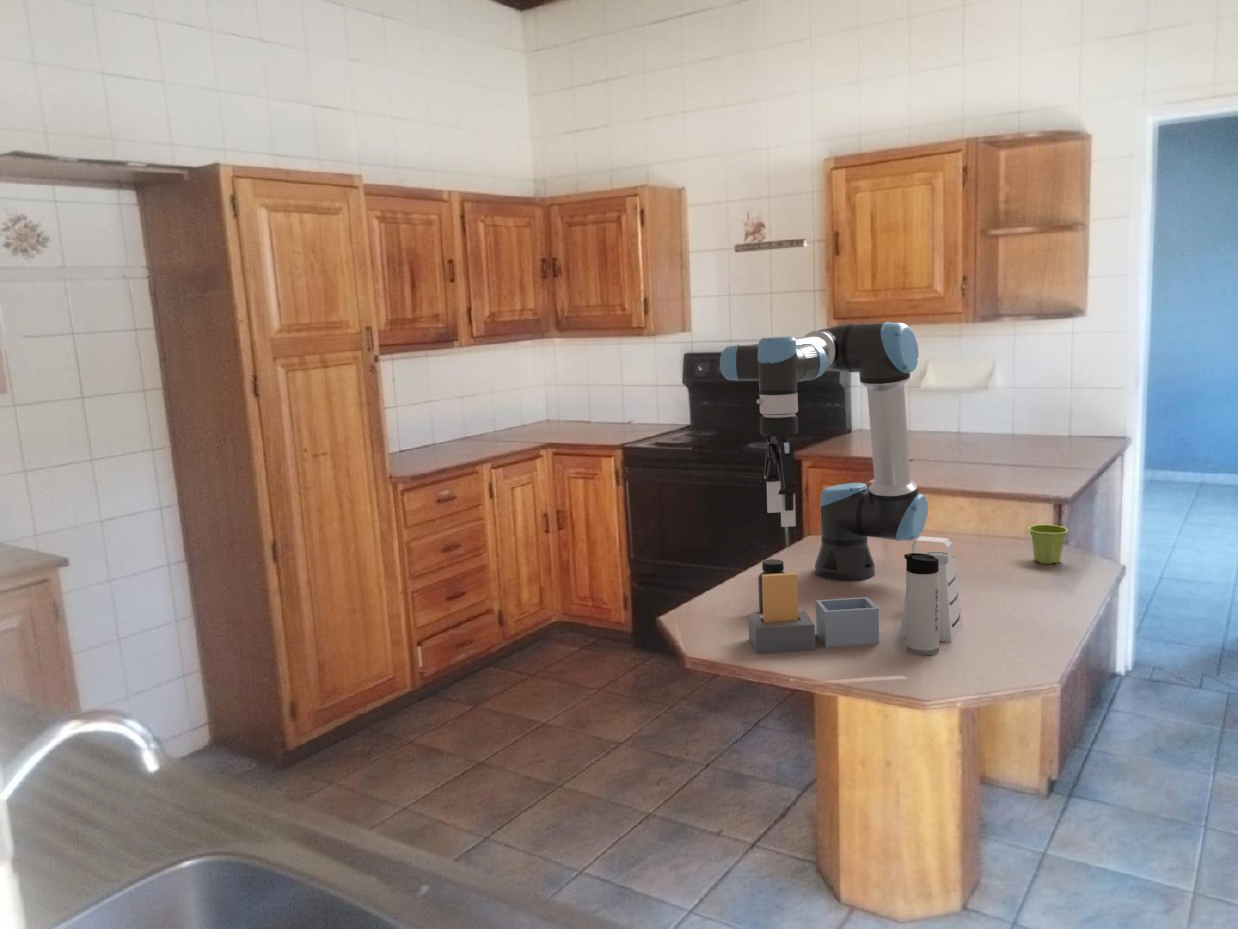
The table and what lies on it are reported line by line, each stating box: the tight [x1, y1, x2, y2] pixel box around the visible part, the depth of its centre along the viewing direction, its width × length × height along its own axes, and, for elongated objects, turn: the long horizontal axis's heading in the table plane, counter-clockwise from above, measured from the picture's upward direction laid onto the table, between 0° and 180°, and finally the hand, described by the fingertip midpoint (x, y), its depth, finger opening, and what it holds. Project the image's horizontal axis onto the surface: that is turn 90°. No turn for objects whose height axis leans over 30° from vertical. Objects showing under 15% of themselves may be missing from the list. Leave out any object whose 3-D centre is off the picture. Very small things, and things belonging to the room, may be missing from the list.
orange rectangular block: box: [762, 572, 799, 622], centre depth 201 cm, size 7×2×15 cm, turn 92°
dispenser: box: [747, 610, 816, 655], centre depth 201 cm, size 12×9×6 cm
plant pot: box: [1028, 524, 1069, 565], centre depth 253 cm, size 9×9×9 cm
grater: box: [899, 535, 964, 643], centre depth 205 cm, size 10×10×20 cm
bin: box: [815, 596, 880, 648], centre depth 203 cm, size 8×11×8 cm
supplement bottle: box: [757, 558, 786, 614], centre depth 224 cm, size 7×7×12 cm
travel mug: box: [904, 552, 940, 657], centre depth 194 cm, size 6×7×20 cm
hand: (781, 519), depth 198 cm, fingers open, 13 cm apart
